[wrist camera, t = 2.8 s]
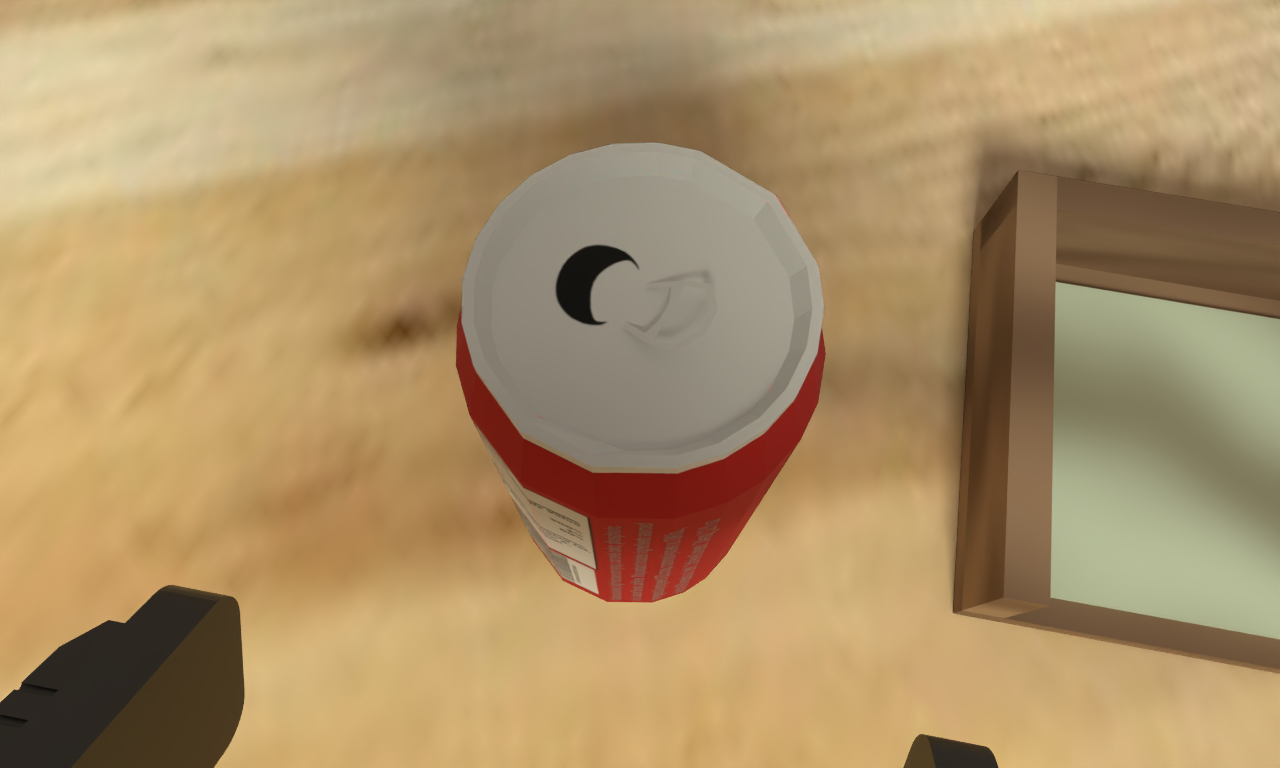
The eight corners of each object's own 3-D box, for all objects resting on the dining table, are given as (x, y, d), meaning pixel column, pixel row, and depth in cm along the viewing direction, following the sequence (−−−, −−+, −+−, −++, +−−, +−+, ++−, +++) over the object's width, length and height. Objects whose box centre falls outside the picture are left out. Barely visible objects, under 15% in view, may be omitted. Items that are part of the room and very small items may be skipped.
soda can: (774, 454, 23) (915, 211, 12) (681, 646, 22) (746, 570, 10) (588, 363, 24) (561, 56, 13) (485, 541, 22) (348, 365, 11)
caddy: (1406, 697, 22) (1529, 694, 19) (953, 613, 22) (1003, 597, 19) (1359, 295, 25) (1454, 240, 22) (973, 231, 26) (1018, 170, 23)
